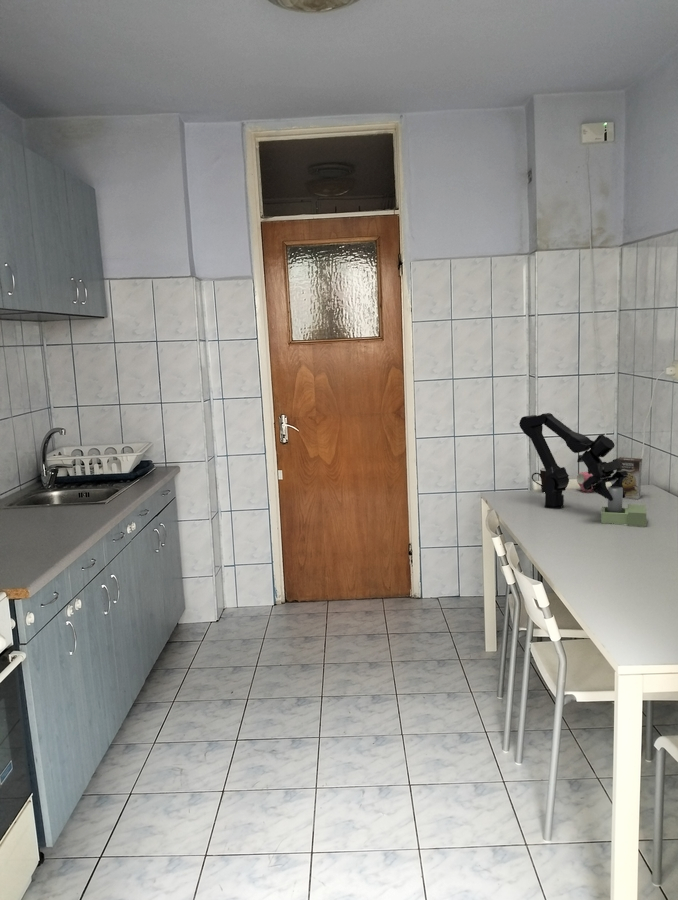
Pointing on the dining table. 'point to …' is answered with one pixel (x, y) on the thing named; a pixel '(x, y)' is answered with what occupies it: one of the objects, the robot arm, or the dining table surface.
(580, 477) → the apple
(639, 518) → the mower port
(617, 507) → the grey rounded post
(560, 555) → the dining table surface
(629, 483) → the brown cookie box
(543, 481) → the coffee mug
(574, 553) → the dining table surface
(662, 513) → the dining table surface
